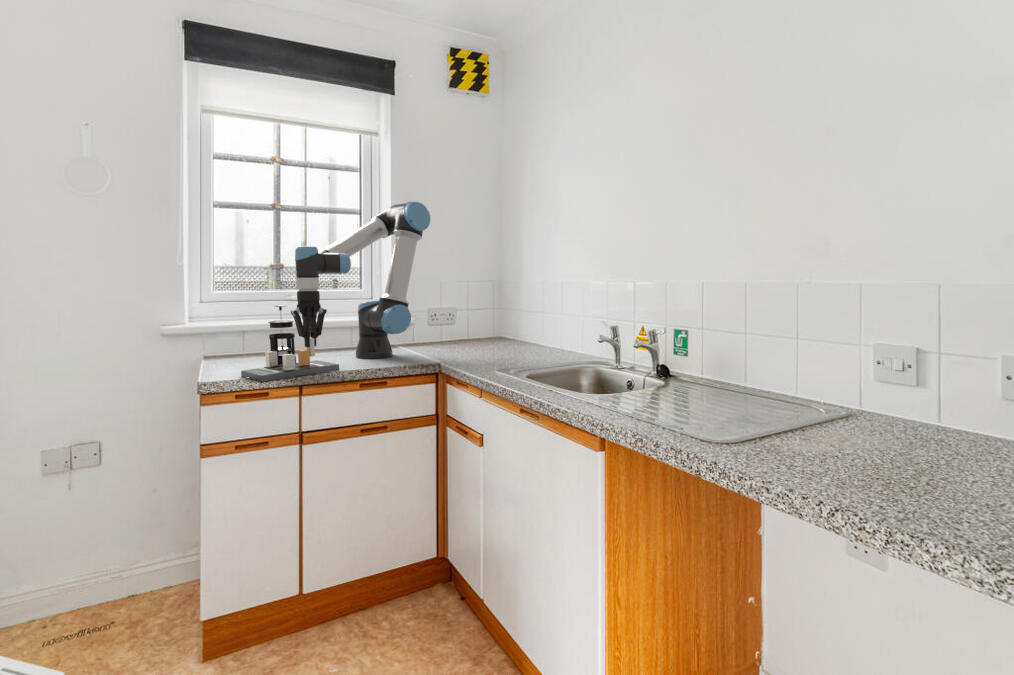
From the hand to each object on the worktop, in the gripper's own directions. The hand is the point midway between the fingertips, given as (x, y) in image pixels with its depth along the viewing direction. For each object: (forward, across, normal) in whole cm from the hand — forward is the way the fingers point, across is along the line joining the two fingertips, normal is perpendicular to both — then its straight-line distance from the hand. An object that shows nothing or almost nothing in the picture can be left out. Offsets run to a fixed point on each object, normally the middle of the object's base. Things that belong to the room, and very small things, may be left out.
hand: (311, 355), depth 190 cm
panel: (+5, +8, 0) cm, 9 cm away
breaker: (+3, +3, 0) cm, 4 cm away
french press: (+5, +2, -18) cm, 19 cm away
